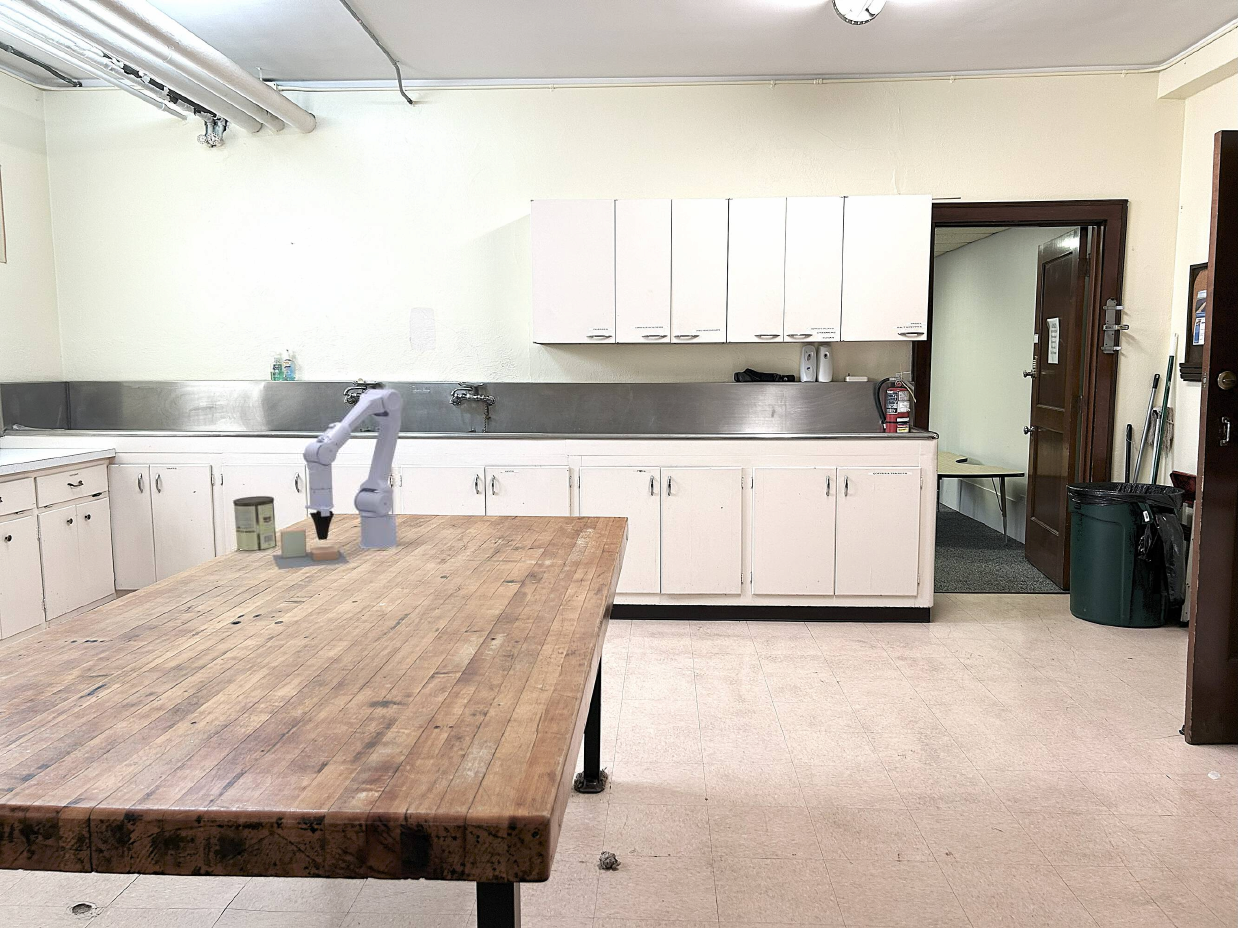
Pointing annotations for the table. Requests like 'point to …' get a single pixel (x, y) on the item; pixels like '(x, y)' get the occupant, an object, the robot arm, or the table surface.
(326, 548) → the tile
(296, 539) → the tile
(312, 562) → the slate mat
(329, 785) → the table surface
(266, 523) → the coffee can
